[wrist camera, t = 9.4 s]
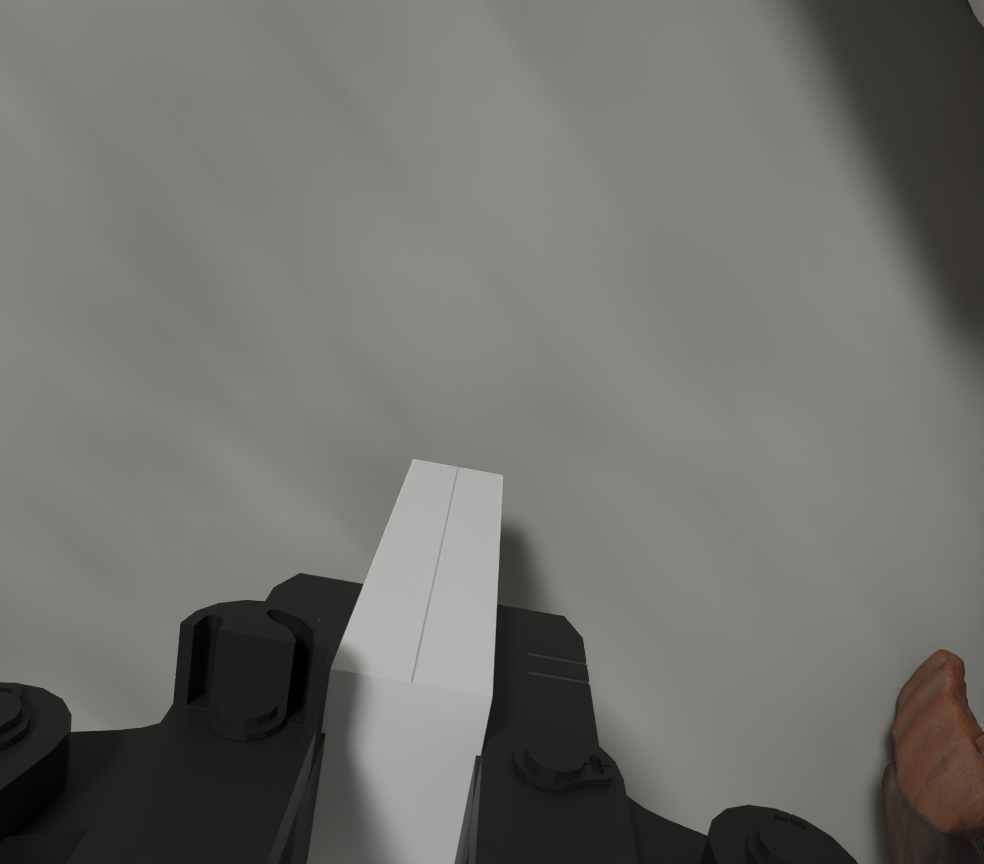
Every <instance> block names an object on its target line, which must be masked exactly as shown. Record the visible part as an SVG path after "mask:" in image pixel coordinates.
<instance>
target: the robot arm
mask: <svg viewBox="0 0 984 864" xmlns="http://www.w3.org/2000/svg"><path fill="white" fill-rule="evenodd" d="M502 489H503V475H500V474H494V473H489V472H483V471H477V470H472V469H466V468H461V467H455V466H449V465H444V464H438V463H433V462H427V461H421V460H416V459H413V461H412V463H411V466H410V468H409V471H408V474H407V476H406V479H405V481H404V484H403V486H402V489H401V491H400V494H399V496H398V499H397V501H396V504H395V506H394V509H393V512H392V514H391V517H390V519H389V522H388V524H387V527H386V529H385V532H384V534H383V537H382V539H381V542H380V544H379V547H378V550H377V552H376V555H375V557H374V560H373V562H372V565H371V567H370V570H369V572H368V575H367V577H366V580H365V582H364V584H360V583H354V582H349V581H343V580H337V579H331V578H326V577H320V576H314V575H309V574H303V573H299V574H297V575H296V576H294V577H292V578H290V579H288V580H286V581H285V582H283V583H281V584H279V585H277V586H275V587H274V588H273V589H272V591H271V593H270V594H269V596H268V598H267V599H266V601H252V600H242V601H233V602H224V603H218V604H215V605H212V606H209V607H206V608H203V609H200V610H197V611H195V612H194V613H193V614H192V615H190V616H189V617H188V618H186V619H185V620H184V621H182V622H181V624H180V635H179V646H178V657H177V668H176V679H175V689H174V700H173V705H172V706H171V708H170V709H169V711H168V712H167V714H166V715H165V717H164V718H163V720H162V721H161V723H158V724H154V725H150V726H147V727H143V728H133V729H124V730H109V731H84V732H71V716H72V715H71V713H70V711H69V710H68V708H67V706H66V704H65V703H64V701H63V699H61V698H59V697H58V696H56V695H54V694H52V693H50V692H49V691H47V690H45V689H43V688H39V687H34V686H29V685H24V684H19V683H3V682H1V683H0V864H858V863H857V862H856V860H855V859H854V858H853V857H852V856H851V855H850V854H849V853H848V852H847V851H846V850H845V849H844V848H843V847H842V846H841V845H840V844H839V843H838V842H837V841H836V840H835V839H834V838H833V837H831V836H830V835H828V834H826V833H825V832H823V831H822V830H820V829H819V828H817V827H815V826H814V825H812V824H811V823H809V822H808V821H806V820H804V819H802V818H799V817H797V816H795V815H793V814H792V815H791V814H788V813H787V812H784V811H781V810H778V809H774V808H767V807H760V806H753V805H745V806H739V807H733V808H727V809H725V810H724V811H723V812H722V813H720V814H719V815H718V816H716V817H715V818H714V819H713V820H712V822H711V826H710V829H709V833H708V836H707V835H704V834H702V833H699V832H697V831H694V830H692V829H689V828H687V827H684V826H682V825H679V824H677V823H674V822H672V821H669V820H667V819H665V818H663V817H661V816H659V815H657V814H655V813H652V812H650V811H648V810H646V809H645V808H643V807H642V806H641V805H639V804H638V803H636V802H635V801H633V800H632V799H630V798H629V797H628V796H627V795H626V791H625V785H624V780H623V778H622V775H621V773H620V771H619V769H618V767H617V765H616V762H615V761H614V760H613V759H612V758H611V757H610V756H609V755H608V754H607V753H606V752H605V751H604V750H603V749H602V748H600V747H599V743H598V736H597V730H596V723H595V716H594V710H593V703H592V696H591V690H590V684H588V682H589V676H588V670H587V665H586V657H585V650H584V643H583V638H582V637H581V636H580V634H579V633H578V632H577V631H576V630H575V628H574V627H573V626H572V625H571V624H570V622H569V621H568V620H567V619H566V618H565V616H560V615H554V614H548V613H542V612H537V611H531V610H525V609H520V608H514V607H508V606H502V605H497V593H498V572H499V551H500V530H501V509H502Z"/></svg>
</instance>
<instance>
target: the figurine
mask: <svg viewBox="0 0 984 864" xmlns="http://www.w3.org/2000/svg"><path fill="white" fill-rule="evenodd" d="M968 1H969V4H970V6H971V8H972V11H973V13H974V15H975V17H976V18H977V19H978V21H979V22H980V23H981V25H982V26H983V27H984V0H968Z"/></svg>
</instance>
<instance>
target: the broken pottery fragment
mask: <svg viewBox="0 0 984 864" xmlns="http://www.w3.org/2000/svg"><path fill="white" fill-rule="evenodd" d="M964 676H965V668H964V662H963V661H962V660H961V658H959V657H958V656H957V655H955V654H953V653H951V652H949V651H946V650H943V649H941V650H938V651H936V652H935V653H934V654H932V655H931V656H930V657H929V658H928V659H927V660H926V661H925V662H924V663H923V664H922V665H921V666H920V667H919V668H918V670H917V671H916V672H915V673H914V674H913V676H912V677H911V678H910V680H909V681H908V682H907V683H906V684H905V685H904V687H903V688H902V690H901V693H900V696H899V698H898V715H897V717H896V719H895V721H894V723H893V725H892V726H891V731H890V732H891V736H892V738H893V740H894V744H895V752H894V755H895V762H893V763H891V764H890V765H888V766H887V767H886V769H885V772H884V776H883V780H882V789H883V797H884V808H885V816H886V825H887V830H888V833H889V840H890V845H891V851H892V857H893V861H894V864H984V858H983V855H982V853H981V852H980V850H979V848H978V845H977V842H976V840H977V838H980V837H981V836H982V835H984V733H983V731H982V729H981V728H980V726H979V725H978V723H977V721H976V719H975V717H974V715H973V714H972V712H971V710H970V708H969V707H968V700H967V697H966V683H965V681H964Z"/></svg>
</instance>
